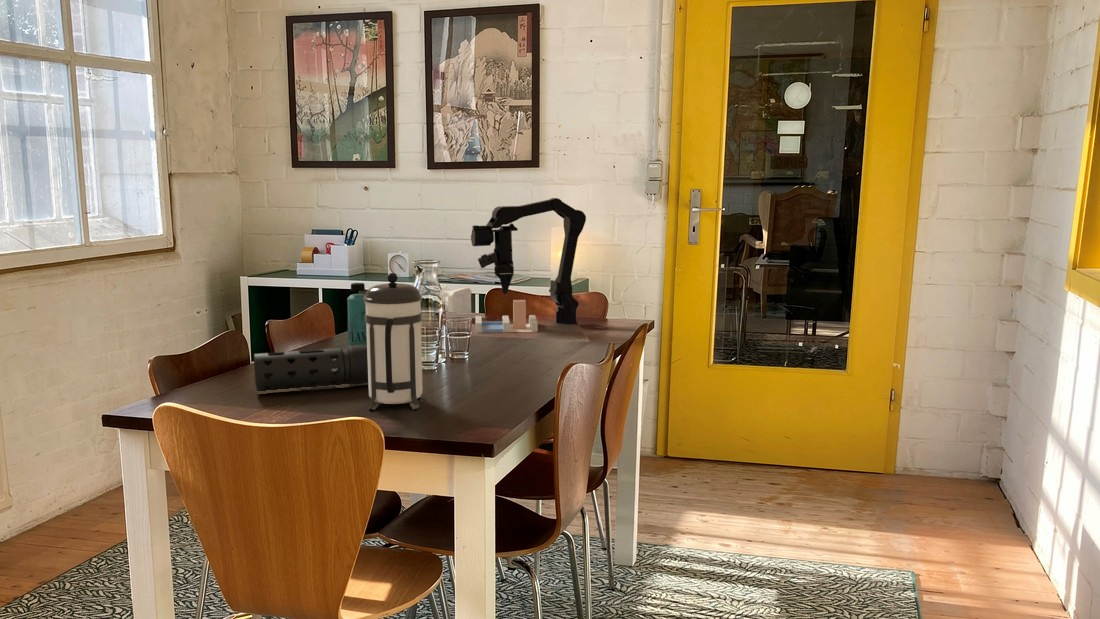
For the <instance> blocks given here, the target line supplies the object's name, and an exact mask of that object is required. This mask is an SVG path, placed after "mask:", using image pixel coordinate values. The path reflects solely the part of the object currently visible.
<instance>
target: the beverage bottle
mask: <svg viewBox="0 0 1100 619" xmlns="http://www.w3.org/2000/svg"><path fill="white" fill-rule="evenodd" d="M365 286H366V285H365V283H364V282H353V283H351V284H350V291H351V292H364V291H366V287H365ZM364 296H366V293H365V294H364V293H354V294H353V293H352V294H350V295H349V296H348V297H347V298H346V299H347V300H346V301H347V338H348V339H347V340H348V342H347V344H348V347H349V346H355V345H366V346H367V328H366V322H365V313H366V304H365V302H364Z"/></svg>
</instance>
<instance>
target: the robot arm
mask: <svg viewBox="0 0 1100 619" xmlns="http://www.w3.org/2000/svg"><path fill="white" fill-rule="evenodd" d="M552 211H553V212H554V213H556V215H558V216H559V218H560V217H561V219H563V231H564V239H563V245H562V250H561V255H560V263H559V268H558V273H557V277H556V278H555V280H552V279H551V280H550V287H549V290H548V292H549V293H550V294H549V295H550V298H551V300H552V301H553V302H554V303H555V305H556V311H555V320H554V321H555V324H557V325H559V324H562V325H571V324H576V323H577V309H578V306H579V304H580V303H579V301H577V299H576V298H574V297H573V283H572V274H573V269H574V263H575V258H576V251H577V245H578V239H579V236H581V233H582V232H583V229H584V227H585V224H586V220H587V216H586V214H585V212H584V211H582V210H579V209H575V208H573V207H572V206H570V205H568V204H567V203H565V202H563V201H562V200H561V198H559V197H558V198H557V197H552V198H549V199H546V200H540V201H535V202H531V203H525V204H521V205H501V206H499V205H498V206H497V207H495V208H493V210H492V213H491V218H489V220H488V222H487V224H486V225H472V230H471V235H470V240H471V245H472V247H488V246H489V247H490V246H491V245H492V244H493V243H494V248H493V252H491V253H489V254H488V253H487V254H486V253H484V254H482V255H481V257H478V258H477V261H478V264H479V266H480V268H481V269H484V268H486V267H487V266H489V265H494V275H495V276H496V277H498V279H499V281H500V285H501V289H502V293H503V295H506V294H507V293H508V290H509V288H510V285H511V282H512V279H513V277H514V273H515V271H514V270H515V269H514V268H515V266H514V260H513V238H512V236H513V235H512V234H513V233H512V232H514V231H515V232H517V231H519V229H518V227H516V226H515V224H514V223H513V222H516V221H518V220H520V219H522V218H525V217H530V216H534V215H539V214H544V213H547V212H548V213H549V212H552Z"/></svg>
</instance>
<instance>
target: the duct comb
mask: <svg viewBox="0 0 1100 619" xmlns="http://www.w3.org/2000/svg"><path fill="white" fill-rule="evenodd" d="M482 318H483V317H482V315H475V333H479V334H481V333H482V334H483V333H537V332H538V331H539V330H538V329H539V328H538V326H539V325H538V324H539V323H538V319H537V317H536V315H535V314H530V315H528V323H526V329H514V327H513V323H511V322H510V318H509V315H502V318H501V319H502V321H483V320H482Z"/></svg>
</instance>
